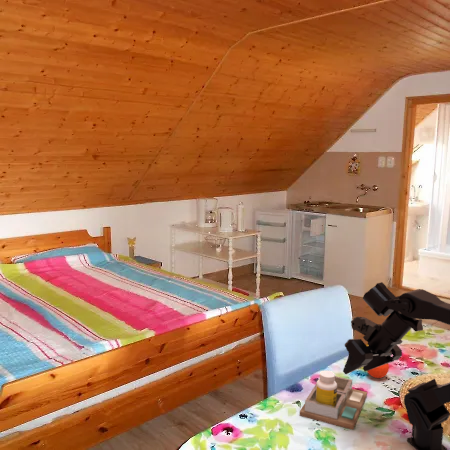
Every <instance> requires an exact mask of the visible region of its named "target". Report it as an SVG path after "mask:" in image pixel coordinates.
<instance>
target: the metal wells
mask: <svg viewBox="0 0 450 450" xmlns="http://www.w3.org/2000/svg"><path fill="white" fill-rule="evenodd" d="M334 381H335V382H336V383H337V388H341V389H344V391H340V390H337V399H336V404H337V405H336V407H334V406H330V405H326V404H322V403H318V402H314V401H315V399H316V385H317V382H316V383H315V384H314V387H313V388H312V389H311V391H310V393H309V394H308V396H307V397H306V399H304V404H305V412H308V413H312V414H316V415H320V416H324V417H328V418H332V419H336V420H337V419H338V417H339V415H340V413H341V411H342V409H343V407H344V405H345V403H346V401H347V399H348V397H349V395H350V392H351V390H352V389H353V379H350V378H345V377H341V376H337V375H335V380H334Z"/></svg>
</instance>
